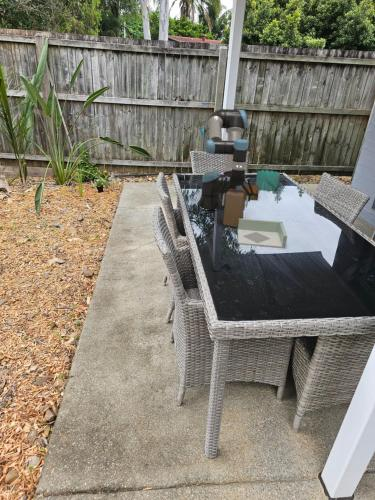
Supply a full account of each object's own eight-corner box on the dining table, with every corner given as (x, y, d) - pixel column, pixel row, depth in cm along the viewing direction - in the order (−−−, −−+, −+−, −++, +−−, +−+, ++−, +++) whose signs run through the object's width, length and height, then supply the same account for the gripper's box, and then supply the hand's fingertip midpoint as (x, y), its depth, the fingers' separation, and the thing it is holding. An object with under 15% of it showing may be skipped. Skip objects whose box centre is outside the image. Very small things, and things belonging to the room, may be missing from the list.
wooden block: (242, 222, 197) (246, 190, 188) (239, 228, 189) (243, 194, 180) (226, 219, 200) (229, 188, 191) (222, 225, 192) (225, 192, 183)
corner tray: (238, 244, 169) (239, 232, 166) (237, 229, 187) (239, 218, 184) (285, 248, 167) (287, 236, 164) (280, 232, 184) (282, 221, 181)
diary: (257, 201, 237) (258, 193, 235) (231, 199, 240) (232, 191, 237) (257, 192, 257) (258, 185, 255) (233, 190, 260) (234, 183, 258)
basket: (260, 183, 280) (263, 168, 274) (281, 187, 270) (283, 172, 265) (251, 188, 266) (253, 172, 260) (272, 192, 256) (274, 176, 250)
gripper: (215, 168, 178) (212, 206, 187) (261, 171, 175) (256, 209, 184) (216, 166, 184) (213, 202, 194) (260, 169, 182) (255, 205, 191)
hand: (234, 205), depth 189 cm, fingers open, 13 cm apart
